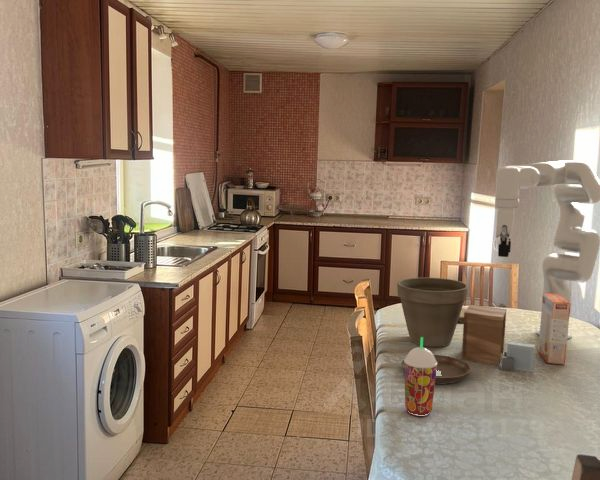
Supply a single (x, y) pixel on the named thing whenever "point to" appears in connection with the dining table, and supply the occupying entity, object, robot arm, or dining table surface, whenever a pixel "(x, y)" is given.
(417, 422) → the dining table surface
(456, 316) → the plant pot
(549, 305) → the cracker box
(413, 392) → the smoothie
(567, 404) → the dining table surface
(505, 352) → the hinge clips
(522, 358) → the door
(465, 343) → the tan wooden box
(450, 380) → the plant saucer
